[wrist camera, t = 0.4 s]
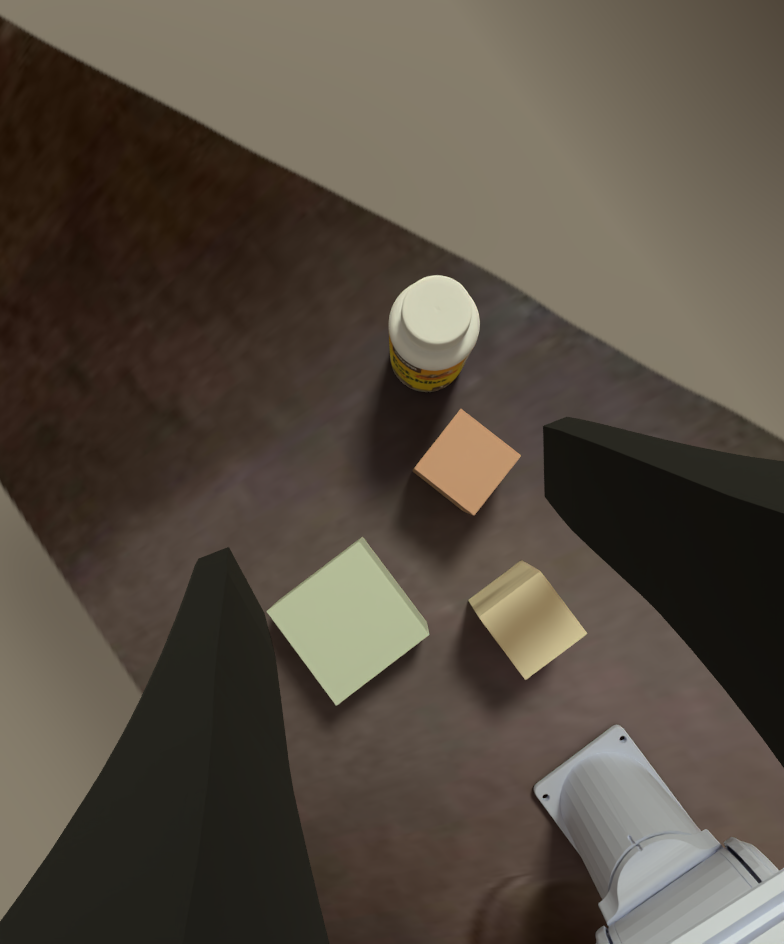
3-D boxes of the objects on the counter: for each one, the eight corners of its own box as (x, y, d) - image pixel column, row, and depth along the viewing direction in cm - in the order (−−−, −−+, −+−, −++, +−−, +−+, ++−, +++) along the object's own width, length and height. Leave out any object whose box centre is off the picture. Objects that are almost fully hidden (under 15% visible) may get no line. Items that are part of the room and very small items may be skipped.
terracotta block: (504, 460, 37) (521, 455, 32) (464, 512, 37) (474, 515, 32) (452, 419, 37) (460, 408, 32) (412, 471, 37) (414, 468, 32)
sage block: (426, 620, 37) (429, 634, 34) (342, 685, 37) (336, 705, 34) (362, 536, 37) (359, 541, 34) (279, 599, 37) (266, 611, 34)
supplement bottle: (379, 378, 38) (371, 337, 27) (406, 311, 38) (408, 245, 27) (447, 405, 37) (465, 373, 27) (474, 337, 38) (502, 280, 27)
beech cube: (561, 614, 37) (587, 633, 32) (508, 654, 37) (525, 680, 32) (521, 560, 37) (540, 571, 32) (468, 599, 37) (478, 617, 32)
